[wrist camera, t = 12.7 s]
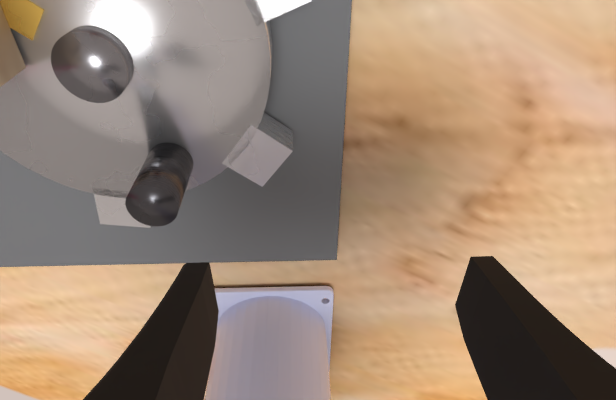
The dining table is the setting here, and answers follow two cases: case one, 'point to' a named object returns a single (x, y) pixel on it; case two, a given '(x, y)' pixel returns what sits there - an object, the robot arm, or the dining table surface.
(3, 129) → the sprocket
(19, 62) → the banded wooden block
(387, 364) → the dining table surface
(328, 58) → the mat
